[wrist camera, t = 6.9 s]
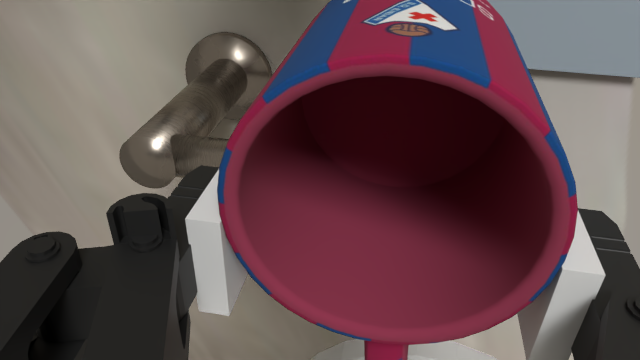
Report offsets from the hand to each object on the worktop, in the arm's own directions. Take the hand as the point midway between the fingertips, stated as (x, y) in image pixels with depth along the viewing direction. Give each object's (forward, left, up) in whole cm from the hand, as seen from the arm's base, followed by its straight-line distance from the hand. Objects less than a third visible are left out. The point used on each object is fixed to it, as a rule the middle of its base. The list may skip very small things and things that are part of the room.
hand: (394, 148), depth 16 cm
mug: (0, 0, -1) cm, 1 cm away
